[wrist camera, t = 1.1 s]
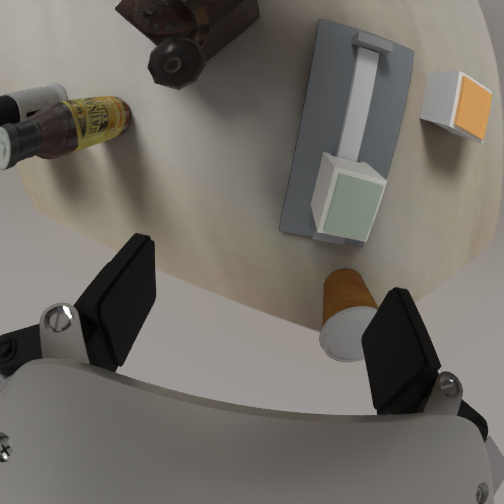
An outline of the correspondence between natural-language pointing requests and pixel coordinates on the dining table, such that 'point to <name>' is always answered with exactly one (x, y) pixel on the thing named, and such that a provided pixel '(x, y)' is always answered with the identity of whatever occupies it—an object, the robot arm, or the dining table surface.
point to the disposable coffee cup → (345, 315)
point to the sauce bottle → (63, 129)
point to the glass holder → (29, 102)
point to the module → (456, 104)
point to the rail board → (346, 134)
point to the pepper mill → (187, 33)
